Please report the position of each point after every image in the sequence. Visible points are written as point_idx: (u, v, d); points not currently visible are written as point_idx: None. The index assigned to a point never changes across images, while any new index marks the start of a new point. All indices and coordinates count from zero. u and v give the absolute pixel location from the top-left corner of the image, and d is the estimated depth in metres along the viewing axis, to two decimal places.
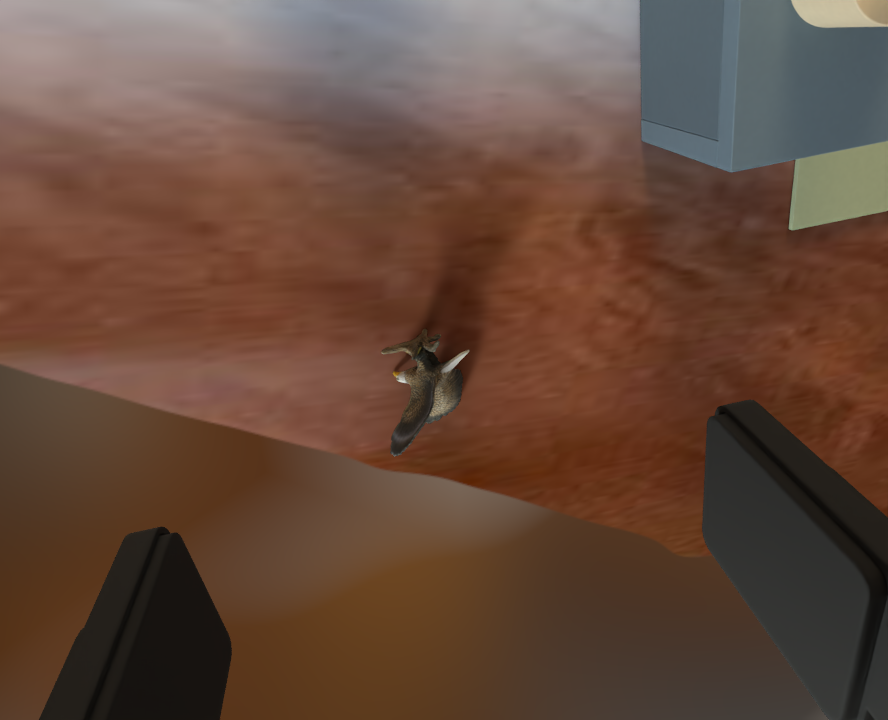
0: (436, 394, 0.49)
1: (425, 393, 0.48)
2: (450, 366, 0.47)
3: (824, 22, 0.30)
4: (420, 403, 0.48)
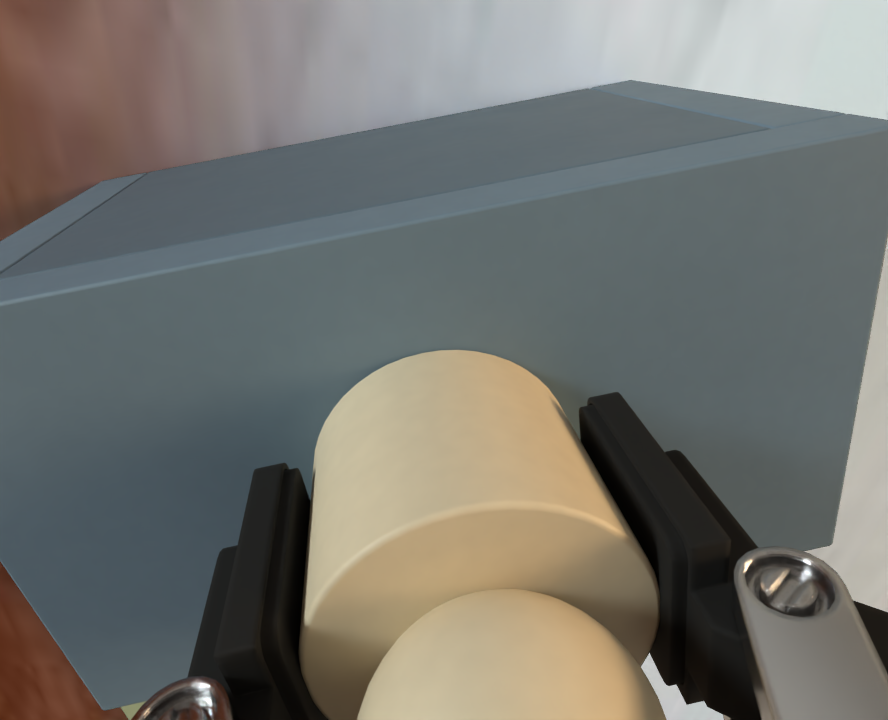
0: None
1: None
2: None
3: (317, 472, 0.11)
4: None
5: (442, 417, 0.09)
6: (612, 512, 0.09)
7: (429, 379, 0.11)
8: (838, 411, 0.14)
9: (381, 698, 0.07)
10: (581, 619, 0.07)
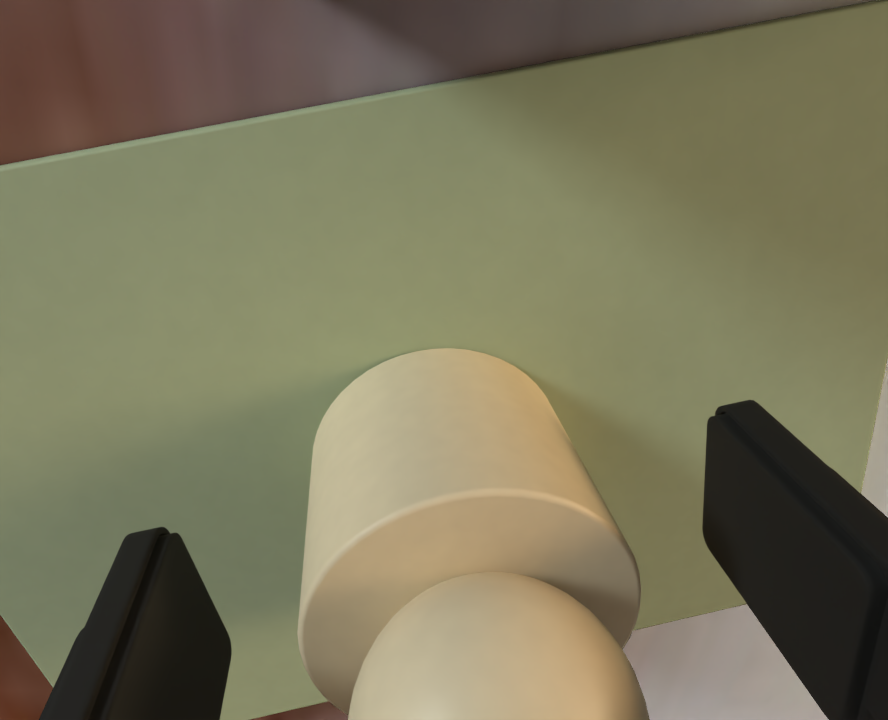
0: None
1: None
2: None
3: (315, 465, 0.11)
4: None
5: (433, 411, 0.10)
6: (594, 500, 0.09)
7: (422, 376, 0.11)
8: None
9: (375, 671, 0.07)
10: (562, 598, 0.08)
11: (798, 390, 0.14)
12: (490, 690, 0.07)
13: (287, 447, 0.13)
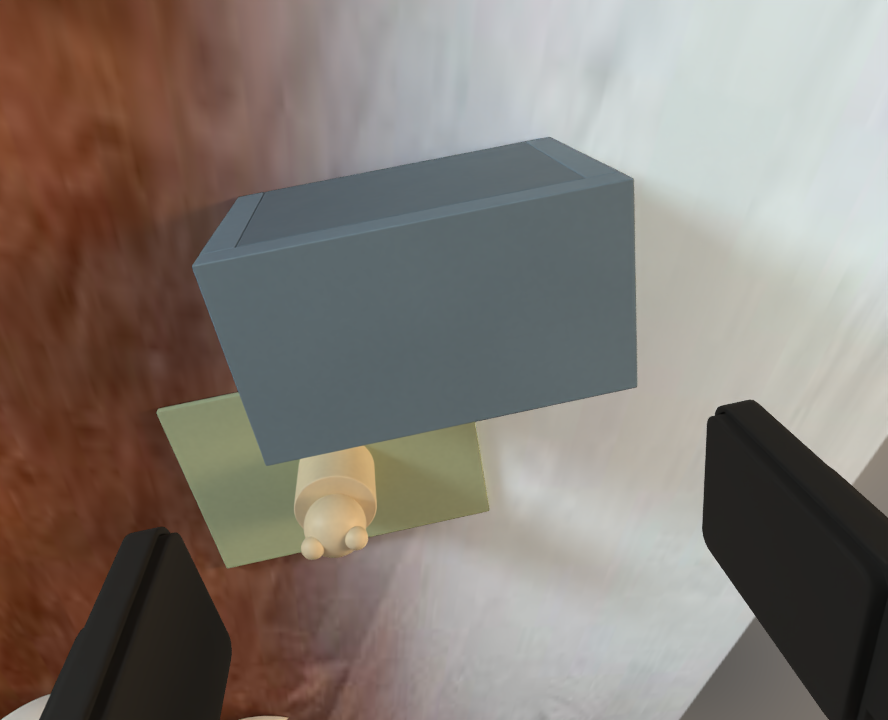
0: None
1: None
2: None
3: (298, 470, 0.42)
4: None
5: (327, 456, 0.41)
6: (362, 478, 0.40)
7: None
8: (626, 311, 0.28)
9: (308, 511, 0.38)
10: (348, 498, 0.38)
11: (449, 446, 0.44)
12: (327, 511, 0.37)
13: (291, 464, 0.43)
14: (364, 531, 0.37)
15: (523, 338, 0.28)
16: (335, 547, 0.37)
